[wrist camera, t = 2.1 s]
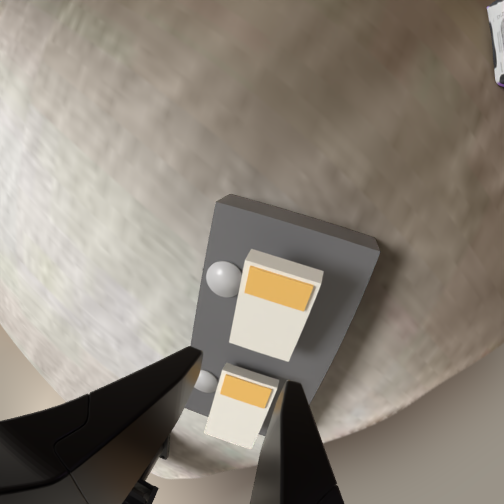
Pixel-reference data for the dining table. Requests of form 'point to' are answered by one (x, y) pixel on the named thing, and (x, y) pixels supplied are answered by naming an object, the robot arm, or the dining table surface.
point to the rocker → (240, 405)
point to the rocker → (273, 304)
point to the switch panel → (290, 248)
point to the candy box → (497, 38)
